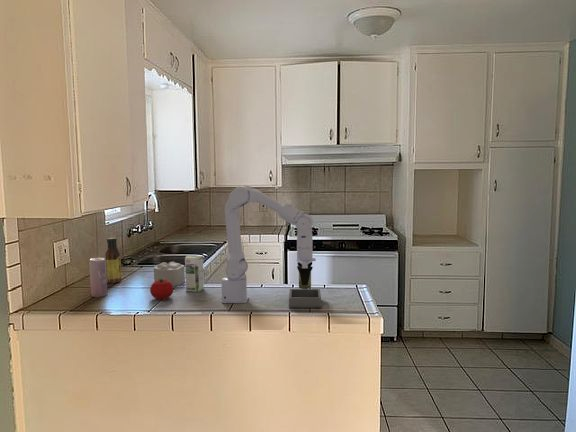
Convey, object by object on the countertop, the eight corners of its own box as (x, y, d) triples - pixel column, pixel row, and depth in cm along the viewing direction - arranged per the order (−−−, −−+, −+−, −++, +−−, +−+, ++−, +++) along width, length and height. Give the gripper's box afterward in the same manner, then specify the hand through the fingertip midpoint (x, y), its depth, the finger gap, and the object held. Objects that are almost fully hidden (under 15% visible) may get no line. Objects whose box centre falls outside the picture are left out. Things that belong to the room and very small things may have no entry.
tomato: (145, 300, 168) (144, 280, 167) (160, 294, 176) (159, 275, 175) (164, 303, 164) (163, 282, 163) (178, 296, 172) (177, 276, 172)
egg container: (176, 286, 188) (176, 266, 187) (149, 284, 190) (148, 265, 189) (187, 280, 198) (186, 261, 197) (160, 278, 200) (159, 260, 199)
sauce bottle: (123, 282, 195) (121, 238, 193) (108, 284, 191) (106, 239, 189) (119, 279, 200) (117, 236, 198) (105, 281, 197) (103, 238, 195)
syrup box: (185, 291, 180) (184, 257, 178) (192, 287, 185) (191, 254, 184) (197, 292, 178) (196, 257, 176) (204, 288, 184) (203, 254, 182)
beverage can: (102, 292, 179) (99, 256, 177) (110, 294, 176) (108, 258, 174) (88, 295, 174) (86, 259, 173) (96, 298, 171) (94, 261, 169)
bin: (288, 308, 157) (288, 298, 156) (289, 298, 168) (289, 288, 168) (321, 308, 156) (321, 298, 156) (319, 299, 168) (319, 289, 167)
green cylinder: (298, 288, 159) (298, 273, 159) (298, 285, 164) (298, 270, 163) (311, 288, 159) (311, 272, 158) (310, 285, 164) (310, 270, 163)
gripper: (316, 250, 152) (316, 288, 154) (315, 243, 167) (315, 278, 168) (296, 250, 153) (296, 288, 154) (296, 243, 167) (296, 278, 169)
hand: (304, 283), depth 161 cm, fingers closed on green cylinder, 5 cm apart
